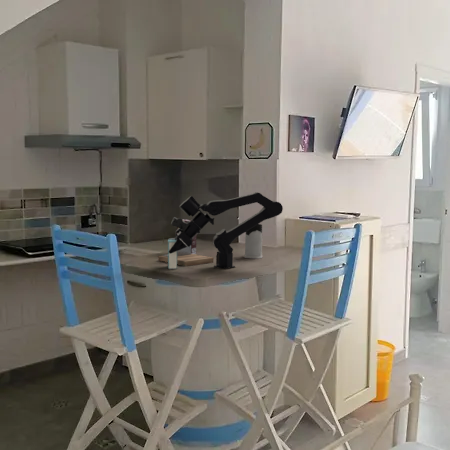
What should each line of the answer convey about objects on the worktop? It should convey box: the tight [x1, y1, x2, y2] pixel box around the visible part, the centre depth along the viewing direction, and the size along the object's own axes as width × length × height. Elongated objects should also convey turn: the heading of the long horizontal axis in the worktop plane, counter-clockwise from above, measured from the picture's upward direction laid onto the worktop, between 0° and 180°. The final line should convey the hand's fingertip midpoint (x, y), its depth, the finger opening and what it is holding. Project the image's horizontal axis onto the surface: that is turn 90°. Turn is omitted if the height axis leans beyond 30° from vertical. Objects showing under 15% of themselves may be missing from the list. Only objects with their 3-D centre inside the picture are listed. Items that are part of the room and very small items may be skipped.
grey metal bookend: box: [162, 237, 191, 257], centre depth 263 cm, size 5×12×8 cm, turn 134°
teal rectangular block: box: [167, 239, 178, 270], centre depth 243 cm, size 4×6×11 cm, turn 7°
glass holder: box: [243, 223, 264, 259], centre depth 277 cm, size 9×14×15 cm, turn 19°
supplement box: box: [176, 219, 198, 255], centre depth 281 cm, size 9×5×16 cm, turn 62°
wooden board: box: [157, 253, 214, 267], centre depth 259 cm, size 18×16×2 cm
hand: (169, 251), depth 243 cm, fingers closed on teal rectangular block, 6 cm apart
